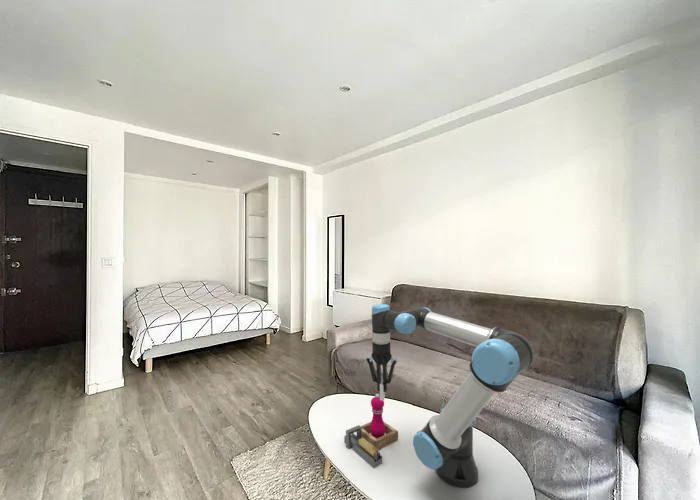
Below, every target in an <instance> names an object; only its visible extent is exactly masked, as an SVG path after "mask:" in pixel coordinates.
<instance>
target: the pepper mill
mask: <svg viewBox="0 0 700 500" xmlns="http://www.w3.org/2000/svg"><path fill="white" fill-rule="evenodd" d="M370 406H371V412H372V417H371V418H372V419H371V421H370V422H371V423H370V432H371V433H370V434H371V435H372V436H373V437H375V438H376V439H377V438H379V437H381V436H383V435H386V434H385V431H386V428H385V424H384V422H385V421H384V420H383V413H384V406H385V401H382V400H380V393H376V394H375V396H374V397H372V398H371V400H370ZM383 421H384V422H383Z"/></svg>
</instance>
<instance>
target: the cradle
mask: <svg viewBox="0 0 700 500" xmlns="http://www.w3.org/2000/svg"><path fill="white" fill-rule="evenodd" d="M383 422H384V424H385V428H386V431H385V433H384V434H385V435H383V436H381V437H379V438H377V439H376V438H375V437H373V436H372V435H371V432H370V423H371V421H370V422H367V423H365V424H362V425H360V426H361V428H362V438H364V439H365V440H367V441H368V442H369V443H370V444H372V445H373V446H374V447H376V448H377V449H378V450H382V449H383V448H386V447H387V446H389V445H392V444H394V443H396V442H397V441H399V431H398V430H397V429H396V428H394V427H393V426H391V425H390V424H389V423H386V422H385V421H384V420H383Z"/></svg>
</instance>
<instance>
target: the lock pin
mask: <svg viewBox="0 0 700 500" xmlns="http://www.w3.org/2000/svg"><path fill="white" fill-rule="evenodd" d="M359 447H360V448H361V449H362V450H363V451H365V452H366V453H367V454H368V455H369V456H371V457H372V458H373V459H374V460H375V459H376V460H378V459H379V458H380V455H381V452H380V451H379V450H378V449H377V448H376V447H374V446H373V445H372V444H370V443H369V442H368V441H367V440H365V439H364V438H361V439H359Z"/></svg>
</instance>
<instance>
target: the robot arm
mask: <svg viewBox="0 0 700 500" xmlns="http://www.w3.org/2000/svg"><path fill="white" fill-rule="evenodd" d="M418 328H421V329H424V330H426V331H429V332H433V333H435V334H437V335H441V336H443V337H446V338H450V339H452V340H456V341H458V342H461V343H464V344H466V345H469V346H473V347H475V349H474V350H473V352H472V354H471V361H470V363H469V364H468V366H469V367H468V368H469V369H468V370H469V371H470V372H469V373H468V375H467V376H466V378H465V379H464V381H462V383H461V384H460V386H459V387H458V388H457V390H456V391H455V392H454V394H453V396H451V398H450V399H449V401H448V403H447V404H446V405H445V406H444V407H442V408H441V409H440V412H439V414H435V415H433V416H432V417H430V419H429V420H428V421H427V423H426V425H424V427H423V428H422V429H421V430H418V431H417V432H416V433H415V434H414V436H413V439H412V445H413V446H412V447H413V449H414V452H415V454H416V456H417V458H418V460H419V461H420V462H421V464H422V465H424V466H425V467H426V468H428V469H431V470H435V472H436V474H437V476H438V477H439V478H440V479H441V480H442V481H443V482H445V483H446V484H448V485H450V486H452V487H457V488H469V487H473V486H475V484H477V482H478V480H479V471H478V467H477V464H476V461H475V458H474V452H473V451H474V450H473V449H474V448H473V445H474V443H473V440H474V439H473V437H474V436H473V435H474V433H473V431H474V425H473V422H474V420H475V419H476V418H477V417H478V415H479V414H480V413H481V411H482V410H483V409H484V407H485V406H486V405H488V403H489V401H490V400H491V399H492V398H493V396H494V395H495V394H496V393H498V394H501V393H504V392H505V391H506V390H507V389H508V388H509V386H510V385H512V383H513V382H514V381H515V379H516V378H517V377H518V376H519V375H520V374H522V373H523V372H525V371H526V370H527V369H529V368H530V367H531V366H532V364H533V362H534V359H535V351H534V347H533V346H532V344H531V342H530V341H529V340H528V339H527V338H526V336H525V337H524V336H523V335H522V334H519V333H517V332H515V331H511V330H507V329H504V328H501V327H493V328H490V327H486V326H482V325H479V324H474V323H472V322H468V321H465V320H461V319H458V318H454V317H450V316H448V315H443V314H440V313H437V312H433V311H432V310H431V309H430V308H428V307H417V308H415V309H414V308H413V309H409V310H408V309H407V310H404V311H393V310H391V308H390V305H389V304H385V303H376V304H373V306H372V307H371V337H372V338H371V339H372V340H371V341H372V347H371V349H372V352H371V355H370V356H367V357H366V362H367V364H368V367H369V371H370V374H371V379H372V382H375V383H377V385H376V386H377V387H376V389H377V392H379V397H380V400H382V401H384V400H385V398H386V395H385V393H386V392H387V390H388V384H391V382H392V379H393V373H394V371H395V365H396V364H397V362H398V359H397V358H394V357H393V355H392V352H391V331H393V332H397V333H401V334H412V333H413V332H414V331H415V329H418ZM374 363H375V365H376V368H375V365H374ZM388 363H390V364H391V365H390V368H389V369H390V370H389V373H388ZM375 369H376V370H375ZM384 402H385V401H384Z"/></svg>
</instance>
